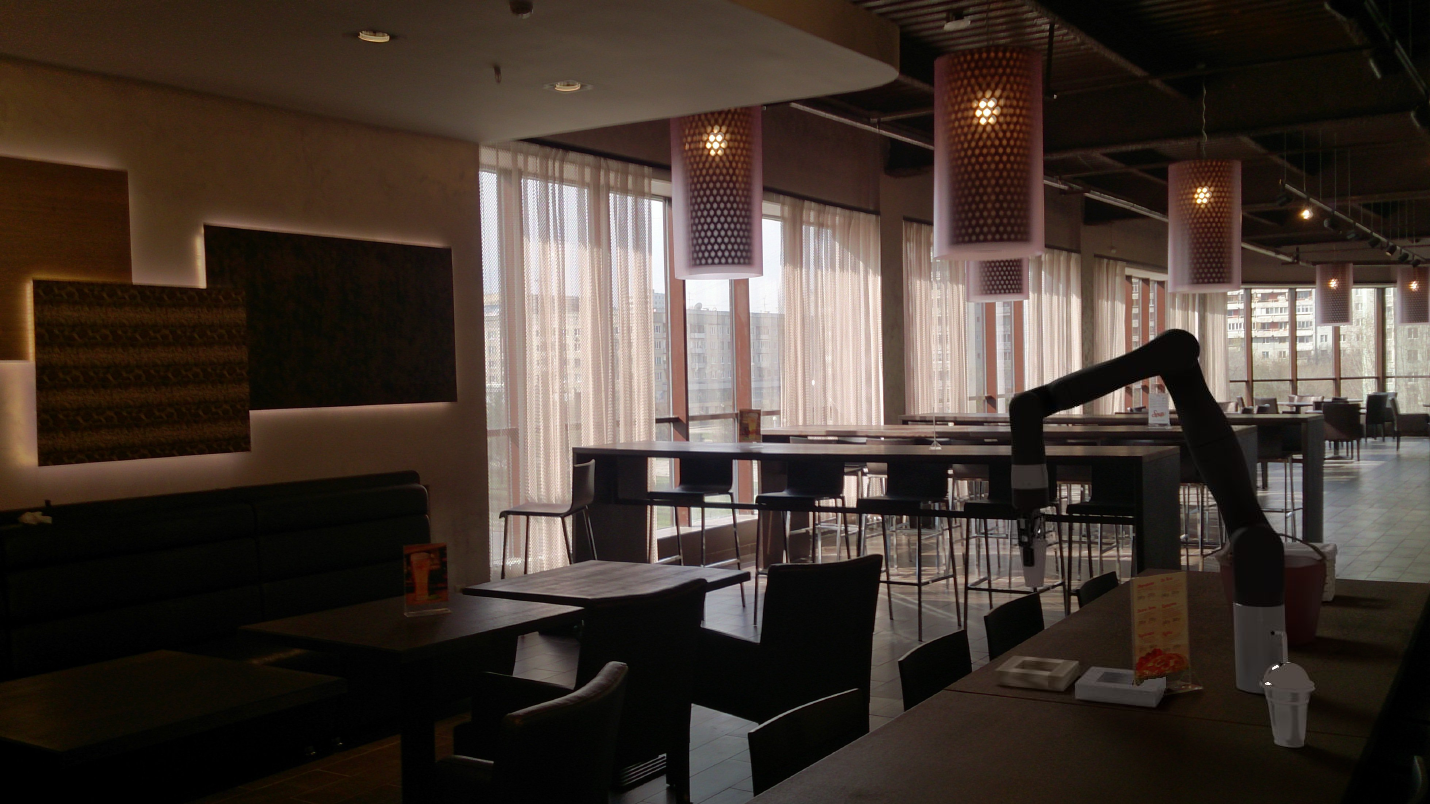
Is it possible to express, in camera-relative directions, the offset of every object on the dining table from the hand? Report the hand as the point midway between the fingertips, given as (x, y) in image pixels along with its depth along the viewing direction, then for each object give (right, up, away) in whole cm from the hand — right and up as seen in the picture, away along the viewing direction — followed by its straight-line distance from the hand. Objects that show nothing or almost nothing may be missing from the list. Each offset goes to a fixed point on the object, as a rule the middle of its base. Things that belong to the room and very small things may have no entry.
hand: (1033, 563), depth 234 cm
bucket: (+66, -22, +30) cm, 76 cm away
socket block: (+1, -25, 0) cm, 25 cm away
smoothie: (0, -5, 0) cm, 5 cm away
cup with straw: (+30, -24, -47) cm, 60 cm away
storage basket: (+96, -21, +79) cm, 126 cm away
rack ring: (+14, -24, -13) cm, 31 cm away
